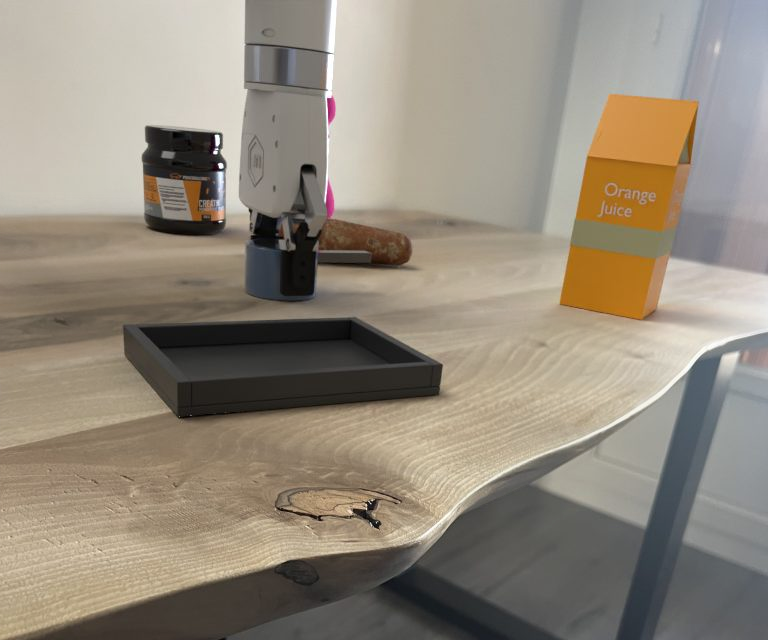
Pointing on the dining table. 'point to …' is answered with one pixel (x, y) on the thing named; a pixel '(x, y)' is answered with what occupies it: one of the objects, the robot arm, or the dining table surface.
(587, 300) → the orange juice
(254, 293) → the pan
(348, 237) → the brown elongated bar
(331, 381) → the tray
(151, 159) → the supplement container
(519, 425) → the dining table surface
